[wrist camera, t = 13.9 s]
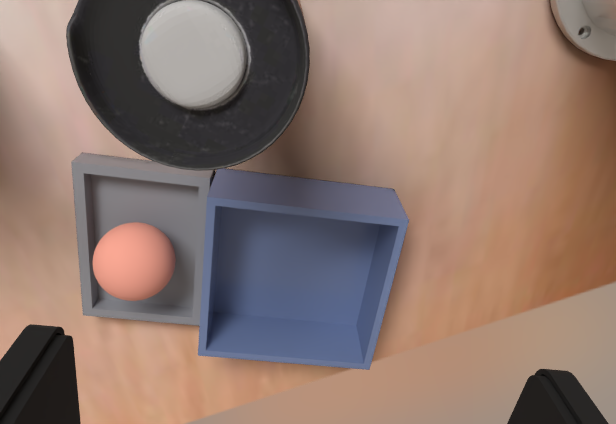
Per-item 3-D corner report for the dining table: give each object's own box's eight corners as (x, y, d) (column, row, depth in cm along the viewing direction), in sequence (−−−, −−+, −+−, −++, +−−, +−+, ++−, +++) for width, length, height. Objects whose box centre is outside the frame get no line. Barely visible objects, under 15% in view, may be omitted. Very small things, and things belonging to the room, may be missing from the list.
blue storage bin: (393, 189, 39) (408, 219, 34) (360, 326, 45) (369, 369, 40) (217, 167, 38) (206, 196, 33) (208, 312, 44) (197, 355, 39)
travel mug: (310, 59, 34) (333, 150, 16) (206, 82, 35) (118, 195, 17) (286, -62, 31) (282, -115, 13) (171, -35, 31) (15, -49, 13)
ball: (184, 214, 38) (163, 254, 33) (183, 275, 41) (163, 322, 36) (109, 204, 38) (75, 243, 33) (112, 266, 41) (81, 311, 35)
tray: (213, 168, 38) (210, 178, 36) (204, 311, 44) (201, 325, 42) (82, 152, 37) (71, 161, 35) (91, 301, 43) (83, 315, 41)
